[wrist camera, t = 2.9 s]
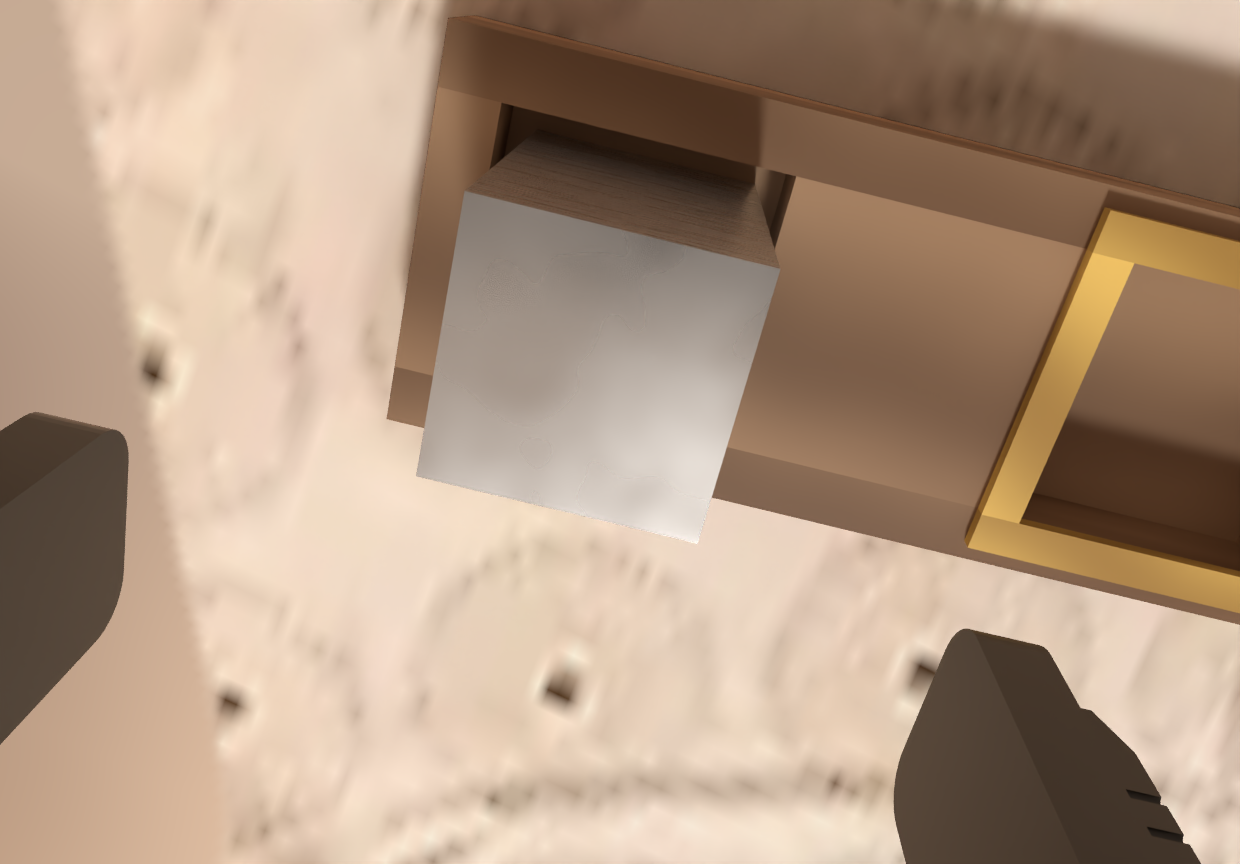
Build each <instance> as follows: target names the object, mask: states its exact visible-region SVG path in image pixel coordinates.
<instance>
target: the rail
mask: <svg viewBox="0 0 1240 864" xmlns="http://www.w3.org/2000/svg"><path fill="white" fill-rule="evenodd" d="M536 130H541V131H545V132H549V133H553V134H557V135H561V136H565V137H569V138H573V139H577V140H581V141H585V142H589V143H593V144H597V145H601V146H605V147H609V148H613V149H617V150H621V151H625V152H629V153H633V154H637V155H641V156H645V157H649V158H653V159H657V160H661V161H665V162H669V163H673V164H677V165H681V166H685V167H689V168H693V169H697V170H701V171H705V172H709V173H713V174H717V175H721V176H725V177H729V178H733V179H737V180H741V181H745V182H749V183H754V184H755V185H756V189H757V192H758V195H759V199H760V202H761V205H762V209H763V212H764V215H765V219H766V222H767V225H768V229H769V232H770V236H771V239H772V242H773V246H774V249H775V252H776V256H777V259H778V262H779V266H780V272H779V276H778V279H777V282H776V286H775V289H774V292H773V296H772V299H771V302H770V306H769V309H768V312H767V316H766V319H765V322H764V325H763V329H762V332H761V335H760V339H759V342H758V345H757V349H756V352H755V355H754V359H753V362H752V365H751V369H750V372H749V375H748V378H747V382H746V385H745V388H744V392H743V395H742V398H741V402H740V405H739V408H738V412H737V415H736V418H735V422H734V425H733V428H732V431H731V435H730V438H729V441H728V445H727V448H726V451H725V455H724V458H723V461H722V465H721V468H720V471H719V475H718V478H717V481H716V484H715V488H714V491H713V494H712V498H717V499H721V500H725V501H729V502H733V503H737V504H741V505H746V506H750V507H754V508H758V509H762V510H766V511H771V512H775V513H779V514H783V515H787V516H791V517H795V518H800V519H804V520H808V521H812V522H816V523H820V524H824V525H829V526H833V527H837V528H841V529H845V530H849V531H854V532H858V533H862V534H866V535H870V536H874V537H878V538H883V539H887V540H891V541H895V542H899V543H903V544H907V545H912V546H916V547H920V548H924V549H928V550H932V551H936V552H941V553H945V554H949V555H953V556H957V557H961V558H966V559H970V560H974V561H978V562H982V563H986V564H990V565H995V566H999V567H1003V568H1007V569H1011V570H1015V571H1019V572H1024V573H1028V574H1032V575H1036V576H1040V577H1044V578H1048V579H1053V580H1057V581H1061V582H1065V583H1069V584H1073V585H1078V586H1082V587H1086V588H1090V589H1094V590H1098V591H1102V592H1107V593H1111V594H1115V595H1119V596H1123V597H1127V598H1131V599H1136V600H1140V601H1144V602H1148V603H1152V604H1156V605H1160V606H1165V607H1169V608H1173V609H1177V610H1181V611H1185V612H1190V613H1194V614H1198V615H1202V616H1206V617H1210V618H1214V619H1219V620H1223V621H1227V622H1231V623H1235V624H1239V625H1240V208H1237V207H1233V206H1229V205H1225V204H1221V203H1217V202H1213V201H1209V200H1205V199H1201V198H1197V197H1193V196H1189V195H1185V194H1181V193H1177V192H1173V191H1169V190H1165V189H1161V188H1157V187H1154V186H1150V185H1146V184H1142V183H1138V182H1134V181H1130V180H1126V179H1122V178H1118V177H1114V176H1110V175H1106V174H1102V173H1098V172H1094V171H1090V170H1086V169H1082V168H1078V167H1074V166H1070V165H1066V164H1062V163H1058V162H1054V161H1050V160H1046V159H1042V158H1038V157H1035V156H1031V155H1027V154H1023V153H1019V152H1015V151H1011V150H1007V149H1003V148H999V147H995V146H991V145H987V144H983V143H979V142H975V141H971V140H967V139H963V138H959V137H955V136H951V135H947V134H943V133H939V132H935V131H931V130H927V129H923V128H919V127H916V126H912V125H908V124H904V123H900V122H896V121H892V120H888V119H884V118H880V117H876V116H872V115H868V114H864V113H860V112H856V111H852V110H848V109H844V108H840V107H836V106H832V105H828V104H824V103H820V102H816V101H812V100H808V99H804V98H800V97H796V96H793V95H789V94H785V93H781V92H777V91H773V90H769V89H765V88H761V87H757V86H753V85H749V84H745V83H741V82H737V81H733V80H729V79H725V78H721V77H717V76H713V75H709V74H705V73H701V72H697V71H693V70H689V69H685V68H681V67H677V66H674V65H670V64H666V63H662V62H658V61H654V60H650V59H646V58H642V57H638V56H634V55H630V54H626V53H622V52H618V51H614V50H610V49H606V48H602V47H598V46H594V45H590V44H586V43H582V42H578V41H574V40H570V39H566V38H562V37H558V36H555V35H551V34H547V33H543V32H539V31H535V30H531V29H527V28H523V27H519V26H515V25H511V24H507V23H503V22H499V21H495V20H491V19H487V18H483V17H479V16H475V15H474V16H464V17H454V18H448V22H447V29H446V35H445V42H444V48H443V55H442V61H441V68H440V74H439V81H438V88H437V94H436V101H435V107H434V114H433V120H432V127H431V133H430V140H429V146H428V153H427V159H426V166H425V172H424V179H423V185H422V192H421V199H420V205H419V212H418V218H417V225H416V231H415V238H414V244H413V251H412V257H411V264H410V270H409V277H408V283H407V290H406V296H405V303H404V309H403V316H402V323H401V329H400V336H399V342H398V349H397V355H396V362H395V368H394V375H393V381H392V388H391V394H390V401H389V407H388V414H387V419H389V420H393V421H397V422H401V423H405V424H410V425H414V426H418V427H422V428H424V427H425V421H426V415H427V409H428V403H429V397H430V392H431V386H432V380H433V374H434V368H435V362H436V356H437V350H438V345H439V339H440V333H441V327H442V321H443V315H444V309H445V303H446V297H447V292H448V286H449V280H450V274H451V268H452V262H453V256H454V250H455V244H456V239H457V233H458V227H459V221H460V215H461V209H462V203H463V197H464V191H465V190H466V189H468V188H469V187H470V186H471V185H472V184H473V183H475V182H476V181H477V180H478V179H479V178H481V177H482V176H483V175H484V174H485V173H486V172H488V171H489V170H490V169H491V168H492V167H494V166H495V165H496V164H497V163H498V162H499V161H501V160H502V159H503V158H504V157H505V156H507V155H508V154H509V153H510V152H511V151H512V150H514V149H515V148H516V147H517V146H518V145H520V144H521V143H522V142H523V141H524V140H525V139H527V138H528V137H529V136H530V135H531V134H533V133H534V132H535V131H536Z"/></svg>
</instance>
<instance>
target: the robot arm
mask: <svg viewBox="0 0 1240 864" xmlns="http://www.w3.org/2000/svg"><path fill="white" fill-rule="evenodd" d="M127 484H128V447H127V443H126V440H125V438H124V436H123V435H122V434H121V433H120V432H119V431H117V430H113V429H109V428H105V427H100V426H96V425H91V424H87V423H83V422H79V421H74V420H70V419H66V418H61V417H57V416H53V415H48V414H44V413H39V412H34V413H30V414H28V415H25V416H24V417H22V418H20V419H19V420H17V421H15V422H14V423H12V424H11V425H9V426H7V427H6V428H4V429H3V430H1V431H0V744H1V743H2V742H3V741H4V740H5V739H6V738H7V737H8V736H9V735H10V733H11V732H12V731H13V730H14V729H15V728H16V727H17V726H18V725H19V724H20V723H21V722H22V721H23V719H24V718H25V717H26V716H27V715H28V714H29V713H30V712H31V711H32V710H33V709H34V708H35V706H36V705H37V704H38V703H39V702H40V701H41V700H42V699H43V698H44V697H45V695H47V694H48V692H49V691H50V690H51V689H52V688H53V687H54V686H55V685H56V684H57V683H58V682H59V681H60V680H61V678H62V677H63V676H64V675H65V674H66V673H67V672H68V671H69V669H71V668H72V667H73V666H74V664H75V663H76V662H77V661H78V660H79V659H80V658H81V657H82V656H83V655H84V654H85V652H86V651H87V650H88V649H89V648H90V647H91V646H92V645H93V644H94V643H95V642H96V640H97V639H98V638H99V637H100V636H101V634H102V632H103V631H104V630H105V628H106V626H107V624H108V623H109V621H110V619H111V617H112V615H113V612H114V610H115V607H116V605H117V602H118V598H119V595H120V591H121V587H122V582H123V573H124V553H125V529H126V507H127ZM1160 800H1161V796H1160V794H1159V792H1158V791H1157V789H1156V787H1155V786H1154V784H1153V782H1152V781H1151V779H1150V777H1149V776H1148V774H1147V772H1146V771H1145V769H1144V767H1143V766H1142V764H1141V762H1140V761H1139V759H1138V757H1137V756H1136V754H1135V752H1133V751H1132V750H1131V749H1130V748H1129V747H1128V746H1127V745H1126V744H1125V743H1124V742H1123V741H1122V740H1121V739H1120V738H1119V737H1118V736H1117V735H1116V734H1115V733H1114V732H1113V731H1112V730H1111V729H1110V728H1109V727H1108V726H1107V725H1106V724H1105V723H1104V722H1102V721H1101V720H1100V719H1099V718H1098V717H1097V716H1096V715H1095V714H1094V713H1093V712H1092V711H1091V710H1086V709H1082V708H1080V707H1079V705H1078V703H1077V701H1076V699H1075V698H1074V696H1073V694H1072V692H1071V690H1070V689H1069V687H1068V685H1067V683H1066V681H1065V680H1064V678H1063V676H1062V674H1061V672H1060V671H1059V669H1058V667H1057V665H1056V663H1055V662H1054V660H1053V658H1052V656H1051V655H1050V653H1049V652H1048V650H1046V649H1045V648H1044V647H1042V646H1040V645H1035V644H1031V643H1027V642H1023V641H1018V640H1014V639H1010V638H1005V637H1001V636H997V635H992V634H988V633H984V632H979V631H975V630H971V629H962V630H960V631H959V632H957V633H956V634H955V635H954V637H953V638H952V639H951V641H950V642H949V644H948V646H947V648H946V650H945V652H944V655H943V657H942V659H941V662H940V664H939V667H938V669H937V671H936V674H935V676H934V678H933V681H932V683H931V685H930V688H929V690H928V693H927V695H926V697H925V700H924V702H923V704H922V707H921V709H920V712H919V714H918V716H917V719H916V721H915V723H914V726H913V728H912V730H911V733H910V735H909V738H908V740H907V742H906V745H905V747H904V749H903V752H902V755H901V757H900V761H899V764H898V769H897V773H896V779H895V787H894V814H895V821H896V826H897V830H898V834H899V838H900V842H901V845H902V849H903V853H904V857H905V861H906V864H1201V863H1200V861H1199V860H1198V858H1197V856H1196V854H1195V853H1194V851H1193V849H1192V848H1191V846H1190V845H1189V844H1184V843H1183V836H1184V834H1183V833H1182V831H1181V829H1180V828H1179V826H1178V824H1177V823H1176V821H1175V819H1174V818H1173V816H1172V814H1171V813H1170V811H1169V809H1168V808H1167V806H1164V805H1161V804H1160Z"/></svg>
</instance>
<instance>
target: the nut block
mask: <svg viewBox="0 0 1240 864" xmlns="http://www.w3.org/2000/svg"><path fill="white" fill-rule="evenodd" d="M779 272H780V266H779V262H778V259H777V256H776V252H775V249H774V246H773V242H772V239H771V236H770V232H769V229H768V225H767V222H766V219H765V215H764V212H763V209H762V205H761V202H760V199H759V195H758V192H757V189H756V185H755V184H754V183H749V182H745V181H741V180H737V179H733V178H729V177H725V176H721V175H717V174H713V173H709V172H705V171H701V170H697V169H693V168H689V167H685V166H681V165H677V164H673V163H669V162H665V161H661V160H657V159H653V158H649V157H645V156H641V155H637V154H633V153H629V152H625V151H621V150H617V149H613V148H609V147H605V146H601V145H597V144H593V143H589V142H585V141H581V140H577V139H573V138H569V137H565V136H561V135H557V134H553V133H549V132H545V131H541V130H536V131H535V132H534V133H533V134H531V135H530V136H529V137H528V138H527V139H525V140H524V141H523V142H522V143H521V144H520V145H518V146H517V147H516V148H515V149H514V150H512V151H511V152H510V153H509V154H508V155H507V156H505V157H504V158H503V159H502V160H501V161H499V162H498V163H497V164H496V165H495V166H494V167H492V168H491V169H490V170H489V171H488V172H486V173H485V174H484V175H483V176H482V177H481V178H479V179H478V180H477V181H476V182H475V183H473V184H472V185H471V186H470V187H469V188H468V189H466V190H465V191H464V197H463V203H462V209H461V215H460V221H459V227H458V233H457V239H456V244H455V250H454V256H453V262H452V268H451V274H450V280H449V286H448V292H447V297H446V303H445V309H444V315H443V321H442V327H441V333H440V339H439V345H438V350H437V356H436V362H435V368H434V374H433V380H432V386H431V392H430V397H429V403H428V409H427V415H426V421H425V427H424V433H423V439H422V445H421V450H420V456H419V462H418V468H417V474H416V476H417V477H422V478H426V479H430V480H434V481H438V482H442V483H447V484H451V485H455V486H459V487H463V488H467V489H472V490H476V491H480V492H484V493H488V494H492V495H497V496H501V497H505V498H509V499H513V500H517V501H522V502H526V503H530V504H534V505H538V506H542V507H547V508H551V509H555V510H559V511H563V512H568V513H572V514H576V515H580V516H584V517H588V518H593V519H597V520H601V521H605V522H609V523H613V524H618V525H622V526H626V527H630V528H634V529H638V530H643V531H647V532H651V533H655V534H659V535H663V536H668V537H672V538H676V539H680V540H684V541H688V542H693V543H697V544H698V541H699V537H700V534H701V531H702V528H703V524H704V521H705V518H706V514H707V511H708V508H709V504H710V501H711V498H712V494H713V491H714V488H715V484H716V481H717V478H718V475H719V471H720V468H721V465H722V461H723V458H724V455H725V451H726V448H727V445H728V441H729V438H730V435H731V431H732V428H733V425H734V422H735V418H736V415H737V412H738V408H739V405H740V402H741V398H742V395H743V392H744V388H745V385H746V382H747V378H748V375H749V372H750V369H751V365H752V362H753V359H754V355H755V352H756V349H757V345H758V342H759V339H760V335H761V332H762V329H763V325H764V322H765V319H766V316H767V312H768V309H769V306H770V302H771V299H772V296H773V292H774V289H775V286H776V282H777V279H778V276H779Z"/></svg>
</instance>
